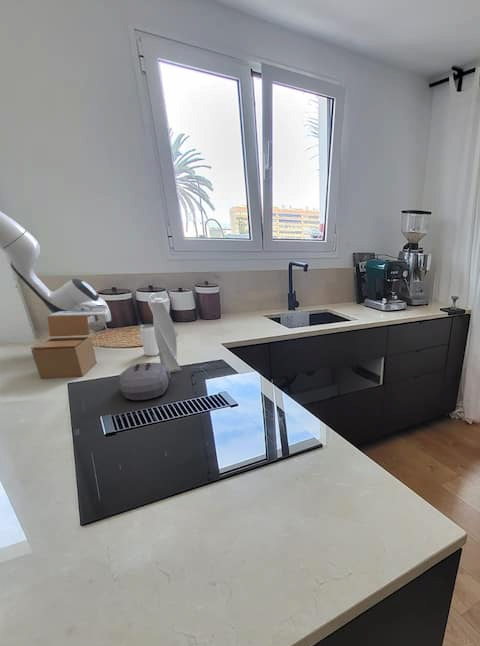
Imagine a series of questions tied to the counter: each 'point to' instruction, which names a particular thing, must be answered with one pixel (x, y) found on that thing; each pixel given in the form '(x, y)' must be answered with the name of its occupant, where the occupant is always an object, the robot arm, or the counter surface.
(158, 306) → the skyscraper
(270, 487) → the counter surface
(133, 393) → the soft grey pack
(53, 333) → the flap
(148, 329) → the can
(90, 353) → the carton
